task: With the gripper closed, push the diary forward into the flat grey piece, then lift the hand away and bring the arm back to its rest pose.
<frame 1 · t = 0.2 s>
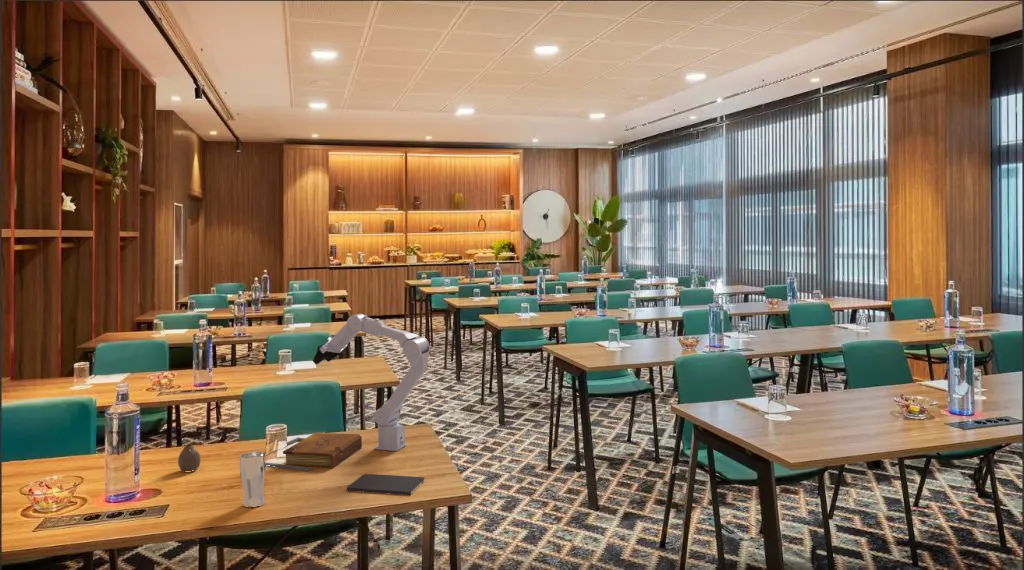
hand: (320, 361, 263), 31 cm above the table, tool tilted 50°, fingers open, 7 cm apart
notebook: (386, 487, 217), on the table
diary: (324, 458, 248), on the table
flat grey piece: (305, 454, 251), on the table
beer glass: (254, 504, 204), on the table
grey teardrop shape: (190, 471, 236), on the table
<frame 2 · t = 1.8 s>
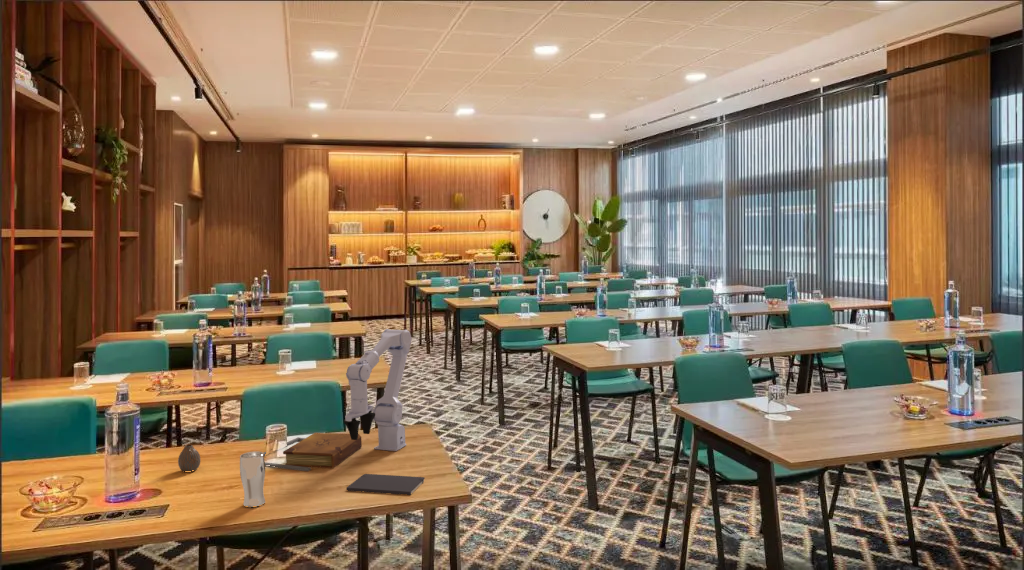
hand: (360, 436, 242), 9 cm above the table, tool pointing down, fingers open, 7 cm apart
nothing on the table moved.
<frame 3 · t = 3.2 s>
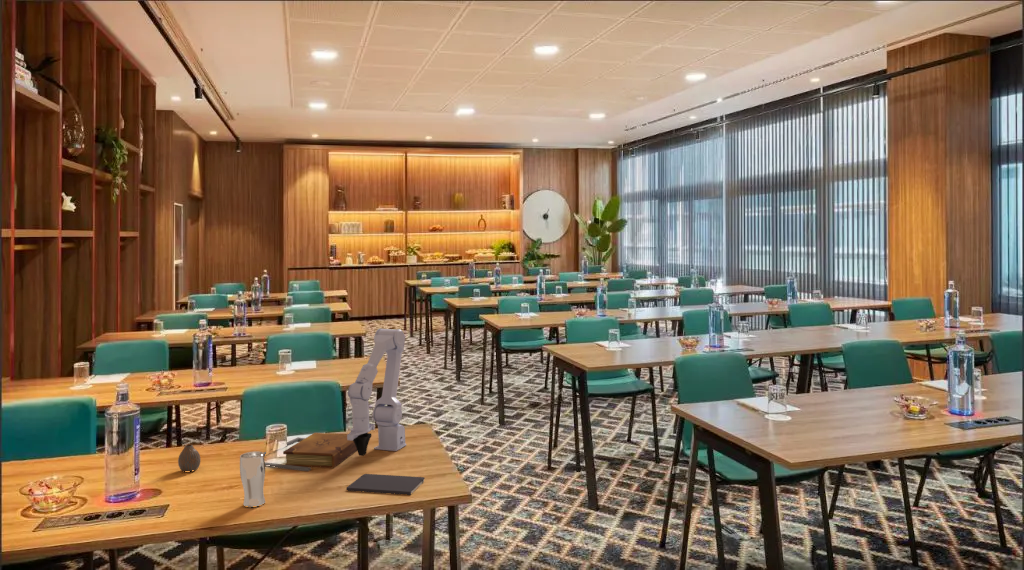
hand: (362, 454, 242), 2 cm above the table, tool pointing down, fingers closed
nothing on the table moved.
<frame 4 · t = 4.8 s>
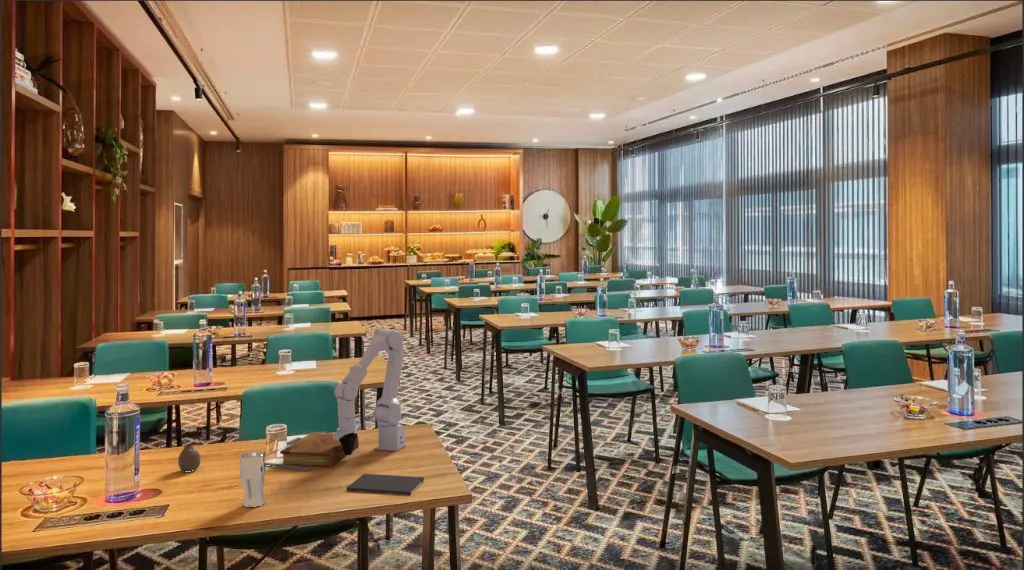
hand: (348, 454, 244), 2 cm above the table, tool pointing down, fingers closed
diary: (321, 458, 248), on the table, touching gripper
everything else where it was.
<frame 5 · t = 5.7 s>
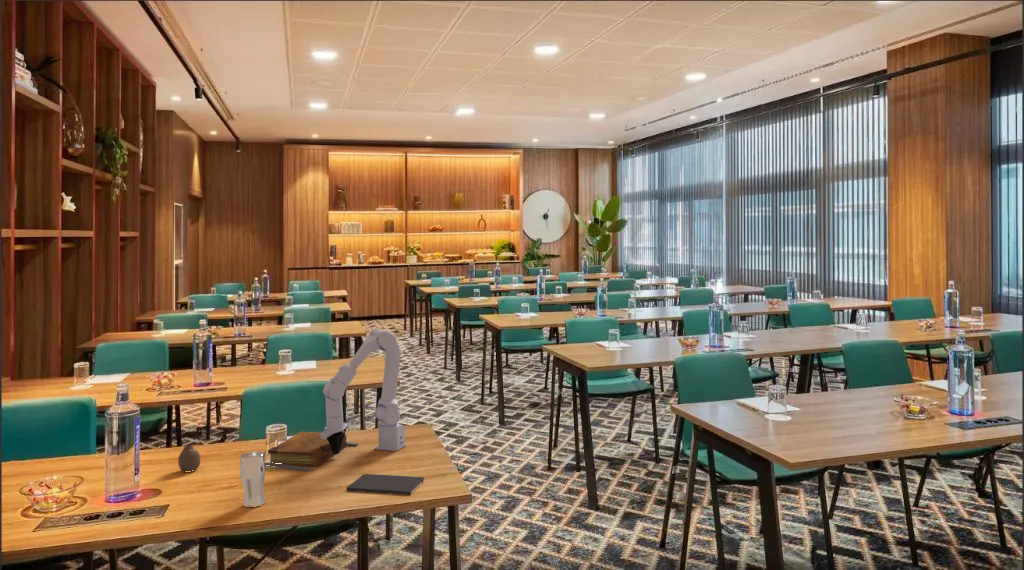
hand: (336, 453, 246), 2 cm above the table, tool pointing down, fingers closed
diary: (309, 457, 250), on the table
everything else where it was.
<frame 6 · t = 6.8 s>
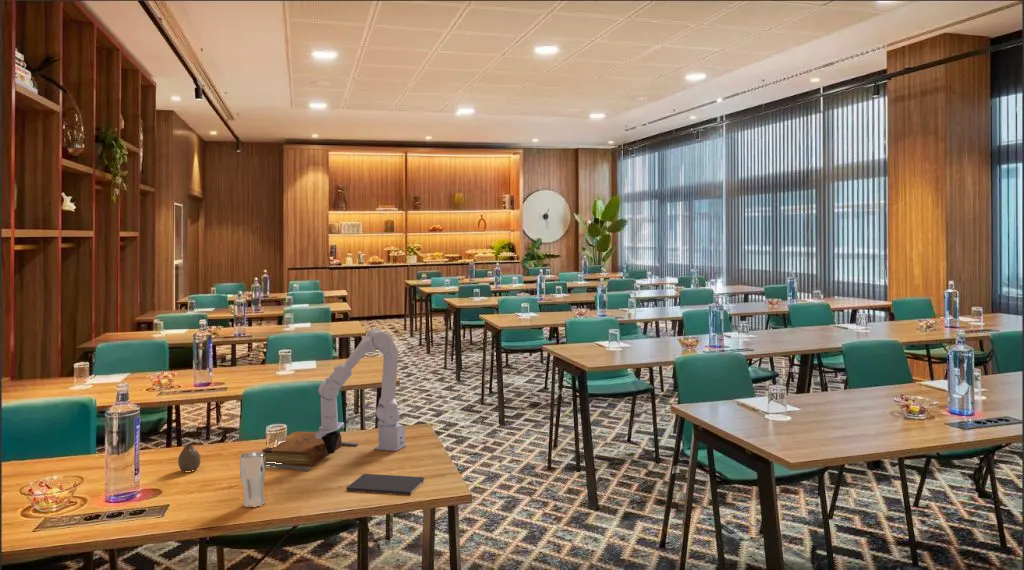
hand: (331, 452, 247), 2 cm above the table, tool pointing down, fingers closed
diary: (303, 456, 250), on the table
everything else where it was.
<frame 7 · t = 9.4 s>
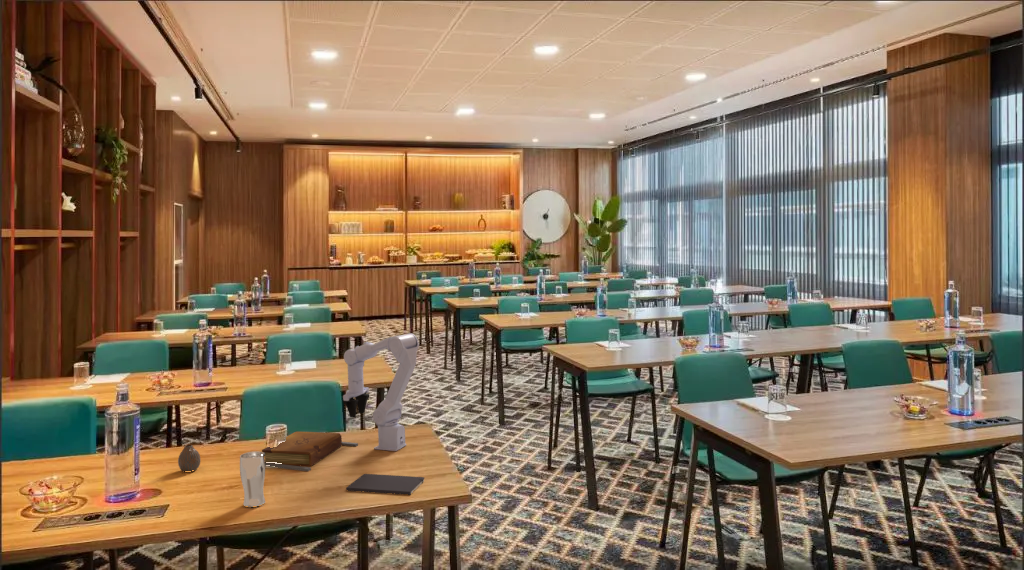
hand: (357, 415, 264), 10 cm above the table, tool pointing down, fingers open, 5 cm apart
nothing on the table moved.
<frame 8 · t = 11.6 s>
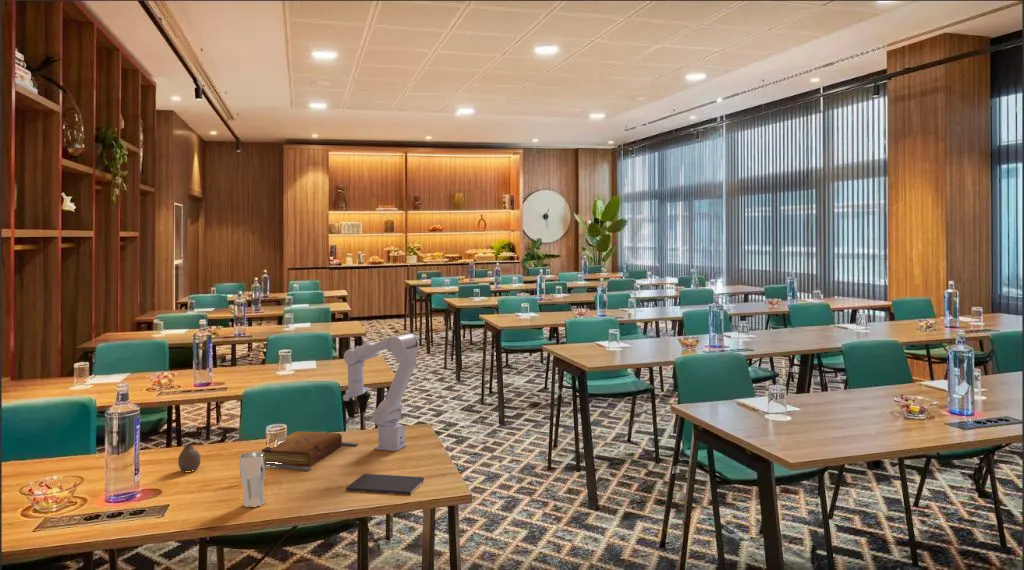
hand: (357, 415, 264), 10 cm above the table, tool pointing down, fingers open, 7 cm apart
nothing on the table moved.
at the end: diary inside the target area (0.7 cm from its centre), on the table; diary tilted 0°; diary moved 8.4 cm from its start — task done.
